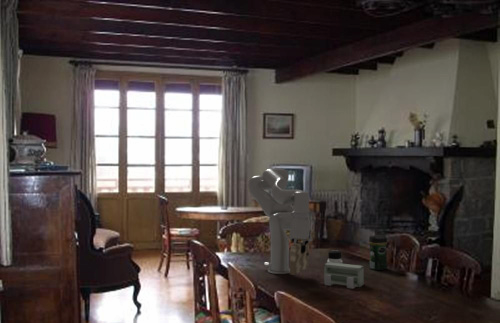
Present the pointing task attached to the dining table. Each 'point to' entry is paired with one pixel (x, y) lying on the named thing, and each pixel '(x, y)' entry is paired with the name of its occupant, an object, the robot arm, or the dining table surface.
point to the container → (334, 257)
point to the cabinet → (343, 274)
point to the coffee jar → (378, 252)
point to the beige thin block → (298, 258)
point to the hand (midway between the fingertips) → (300, 252)
